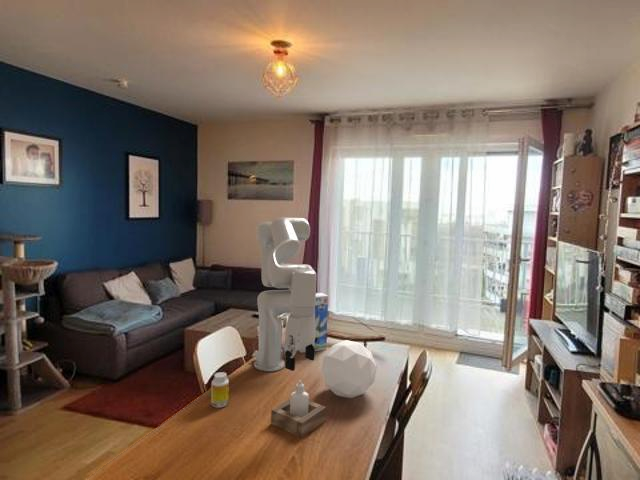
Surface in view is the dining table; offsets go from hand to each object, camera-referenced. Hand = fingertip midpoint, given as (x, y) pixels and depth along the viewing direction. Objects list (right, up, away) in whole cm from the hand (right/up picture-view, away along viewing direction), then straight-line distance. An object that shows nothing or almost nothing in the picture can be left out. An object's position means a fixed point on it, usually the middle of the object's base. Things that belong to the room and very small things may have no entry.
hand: (300, 364), depth 122 cm
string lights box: (+2, -13, +64) cm, 66 cm away
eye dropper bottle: (0, -17, +1) cm, 17 cm away
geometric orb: (+16, -17, +21) cm, 32 cm away
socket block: (-1, -18, +1) cm, 18 cm away
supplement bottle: (-27, -17, +10) cm, 33 cm away
